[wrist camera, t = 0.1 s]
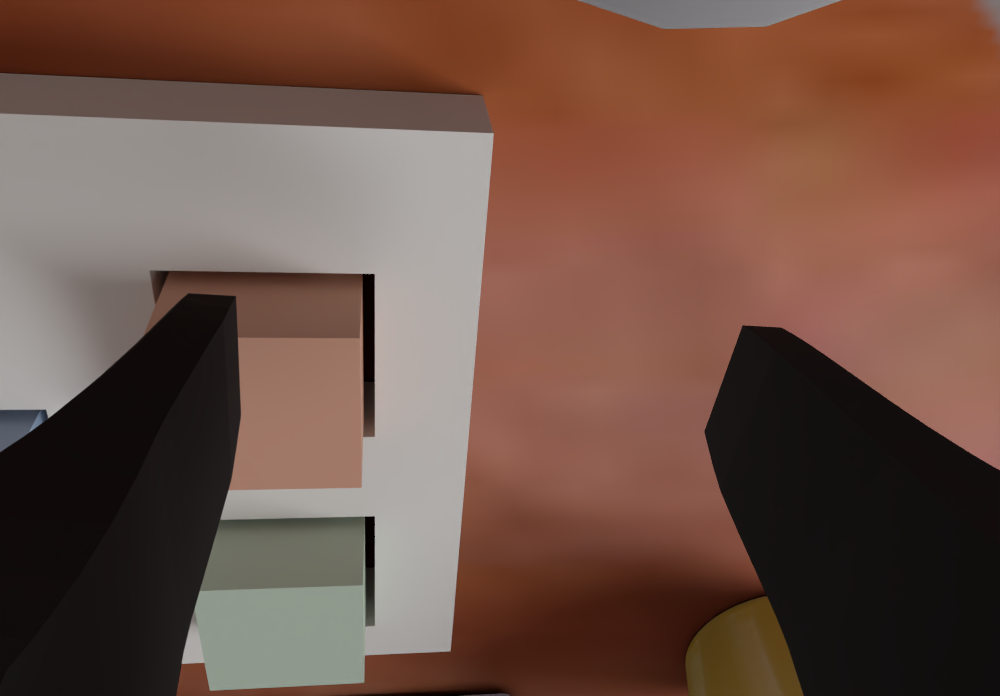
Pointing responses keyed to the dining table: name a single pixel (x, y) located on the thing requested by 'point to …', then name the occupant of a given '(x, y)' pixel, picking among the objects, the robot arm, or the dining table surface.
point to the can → (710, 11)
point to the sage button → (284, 603)
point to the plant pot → (742, 655)
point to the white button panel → (264, 248)
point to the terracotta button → (291, 374)
